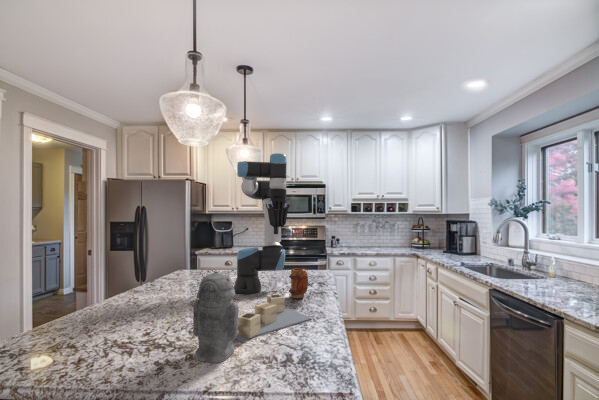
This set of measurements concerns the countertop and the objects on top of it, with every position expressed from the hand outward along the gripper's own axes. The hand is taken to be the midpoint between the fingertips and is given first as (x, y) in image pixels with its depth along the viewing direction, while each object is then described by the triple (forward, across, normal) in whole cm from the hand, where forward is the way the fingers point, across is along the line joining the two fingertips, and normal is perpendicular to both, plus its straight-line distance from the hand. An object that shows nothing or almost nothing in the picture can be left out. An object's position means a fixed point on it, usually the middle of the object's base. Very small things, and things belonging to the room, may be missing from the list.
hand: (277, 241), depth 128 cm
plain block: (+30, -12, -6) cm, 33 cm away
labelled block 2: (+30, -1, 0) cm, 30 cm away
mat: (+30, -12, -5) cm, 33 cm away
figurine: (+31, -40, -13) cm, 52 cm away
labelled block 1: (+30, -24, -10) cm, 40 cm away
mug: (+31, +20, +5) cm, 37 cm away
